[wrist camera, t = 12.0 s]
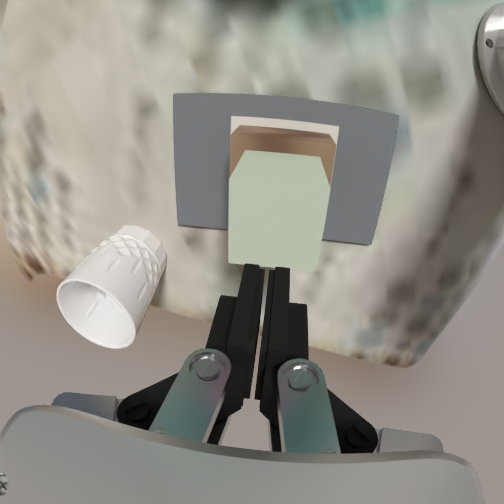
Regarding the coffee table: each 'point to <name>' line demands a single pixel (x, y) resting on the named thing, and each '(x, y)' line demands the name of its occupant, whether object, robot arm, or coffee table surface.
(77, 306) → the white cup
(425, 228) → the coffee table surface
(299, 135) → the walnut base block
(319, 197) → the sage cube
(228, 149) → the mat
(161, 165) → the coffee table surface
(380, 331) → the coffee table surface
